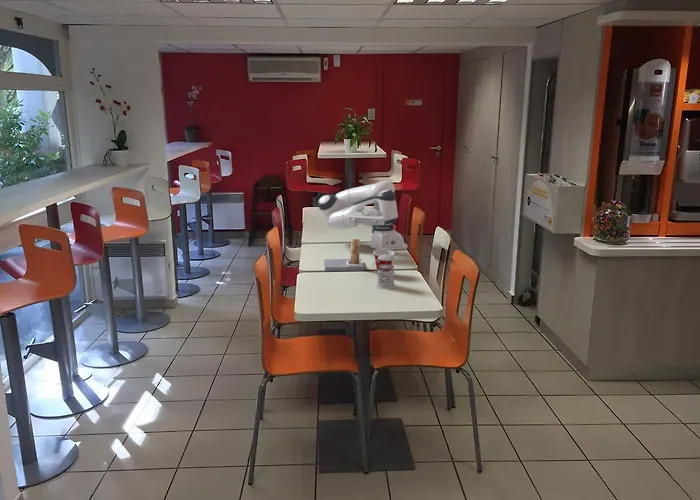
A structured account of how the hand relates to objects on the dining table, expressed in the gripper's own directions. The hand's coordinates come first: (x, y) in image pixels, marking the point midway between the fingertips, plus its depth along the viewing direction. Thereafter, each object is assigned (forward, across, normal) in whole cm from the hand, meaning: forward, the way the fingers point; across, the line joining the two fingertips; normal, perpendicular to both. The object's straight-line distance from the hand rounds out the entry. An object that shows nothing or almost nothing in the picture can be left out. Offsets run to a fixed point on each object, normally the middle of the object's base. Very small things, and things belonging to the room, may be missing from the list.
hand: (362, 222), depth 308 cm
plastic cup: (+19, -17, -22) cm, 34 cm away
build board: (+11, +6, -22) cm, 25 cm away
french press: (+36, -22, -22) cm, 48 cm away
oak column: (+12, 0, -20) cm, 23 cm away
